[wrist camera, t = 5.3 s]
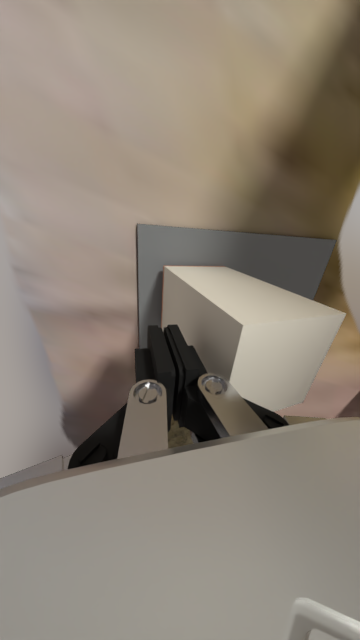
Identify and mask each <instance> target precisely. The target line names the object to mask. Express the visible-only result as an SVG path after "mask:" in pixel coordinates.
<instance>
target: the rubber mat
mask: <svg viewBox="0 0 360 640" xmlns="http://www.w3.org/2000/svg"><path fill="white" fill-rule="evenodd" d="M137 230H138V291H139V349H143V348H147V331H148V325H158V328H160V327H161V313H162V288H163V266H225V267H228V268H231V269H233V270H236V271H238V272H241V273H243V274H246V275H249V276H251V277H254V278H256V279H259V280H261V281H264V282H267V283H269V284H272V285H274V286H277V287H279V288H282V289H285V290H287V291H290V292H292V293H295V294H297V295H300V296H303V297H305V298H308V299H310V300H313V299H314V296H315V294H316V291H317V289H318V286H319V284H320V281H321V279H322V276H323V274H324V271H325V269H326V266H327V263H328V261H329V258H330V256H331V253H332V251H333V248H334V246H335V243H336V241H337V240H329V239H317V238H305V237H292V236H280V235H268V234H256V233H243V232H231V231H219V230H207V229H194V228H182V227H170V226H158V225H145V224H137Z"/></svg>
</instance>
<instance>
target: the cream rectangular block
mask: <svg viewBox="0 0 360 640" xmlns="http://www.w3.org/2000/svg"><path fill="white" fill-rule="evenodd" d="M345 315H346V313H344V312H341V311H339V310H336V309H333V308H331V307H328V306H326V305H323V304H321V303H318V302H315V301H313V300H310V299H308V298H305V297H303V296H300V295H297V294H295V293H292V292H290V291H287V290H285V289H282V288H279V287H277V286H274V285H272V284H269V283H267V282H264V281H261V280H259V279H256V278H254V277H251V276H249V275H246V274H243V273H241V272H238V271H236V270H233V269H231V268H228V267H225V266H163V288H162V313H161V328H162V330H163V332H164V327H167V325H175V324H177V325H178V327H179V329H180V331H181V333H182V335H183V337H184V339H185V341H186V343H187V345H188V346H191V345H192V346H193V347H194V348H195V350H196V352H197V354H198V356H199V358H200V359H201V361H202V363H203V365H204V367H205V369H206V371H207V373H214V374H218V375H221V376H222V377H224V378H225V379H227V380H228V381H229V383H230V384H231V385H232V386H233V387H234V388H235V390H236V391H237V392H238V393H239V394H240V396H241V397H242V398H244V399H247V400H249V401H251V402H253V403H255V404H257V405H259V406H262V407H264V408H266V409H268V410H270V411H272V412H274V411H277V410H281V409H284V408H287V407H290V406H293V405H296V404H299V403H303V401H304V399H305V397H306V395H307V393H308V391H309V389H310V386H311V384H312V382H313V380H314V378H315V376H316V374H317V372H318V370H319V368H320V366H321V364H322V362H323V360H324V358H325V356H326V354H327V352H328V350H329V348H330V346H331V344H332V342H333V340H334V338H335V336H336V334H337V332H338V330H339V327H340V325H341V323H342V321H343V319H344V317H345Z"/></svg>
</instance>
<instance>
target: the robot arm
mask: <svg viewBox="0 0 360 640" xmlns="http://www.w3.org/2000/svg"><path fill="white" fill-rule="evenodd" d="M135 371H136V384H134V385H133V387H132V388H131V390H130V392H129V397H128V403H127V404H125V405H124V406H123V407H122V408H121V409H120V410H119V411H118V412H117V413H116V414H114V415H113V416H112V417H111V418H110V419H109V420H108V421H107V422H106V423H104V424H103V425H102V426H101V427H100V428H99V429H98V430H97V431H96V432H94V433H93V434H92V435H91V436H90V437H89V438H88V439H87V440H86V441H85V442H83V443H82V444H81V445H80V446H79V447H78V448H77V449H76V451H75V452H74V453H73V454H72V455H69V456H67V457H64V458H63V456H62V455H60V456H58V457H55V458H53V459H50V460H48V461H45V462H42V463H40V464H37V465H34V466H32V467H29V468H26V469H24V470H21V471H19V472H16V473H14V474H11V475H8V476H5V477H3V478H0V640H360V417H341V418H332V419H326V418H316V417H300V416H285V415H284V417H283V418H282V417H281V416H280V415H278V414H276V413H274V412H272V411H270V410H268V409H266V408H264V407H262V406H259V405H257V404H255V403H253V402H251V401H249V400H247V399H244V398H242V397H241V396H240V394H239V393H238V392H237V391H236V390H235V388H234V387H233V386H232V385H231V384H230V383H229V381H228V380H227V379H225V378H224V377H222V376H221V375H218V374H214V373H207V371H206V369H205V367H204V365H203V363H202V361H201V359H200V358H199V356H198V354H197V352H196V350H195V348H194V347H193V346H192V345H191V346H188V345H187V343H186V341H185V339H184V337H183V335H182V333H181V331H180V329H179V327H178V325H177V324H175V325H167V327H164V332H163V330H162V328H161V327H160V328H158V325H148V331H147V348H143V349H135ZM172 415H173V419H174V421H178V424H179V428H181V427H185V428H187V429H188V430H190V436H191V439H192V441H193V443H194V444H190V445H184V446H179V447H174V448H169V449H168V432H169V431H170V428H171V419H172Z"/></svg>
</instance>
